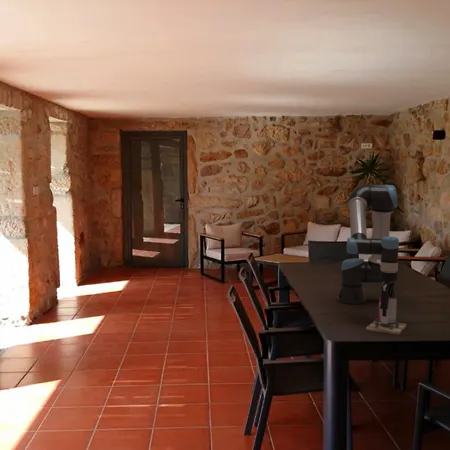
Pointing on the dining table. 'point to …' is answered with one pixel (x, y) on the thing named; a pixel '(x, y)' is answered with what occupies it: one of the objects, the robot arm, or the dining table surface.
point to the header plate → (386, 327)
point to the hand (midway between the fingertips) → (386, 320)
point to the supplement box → (389, 310)
